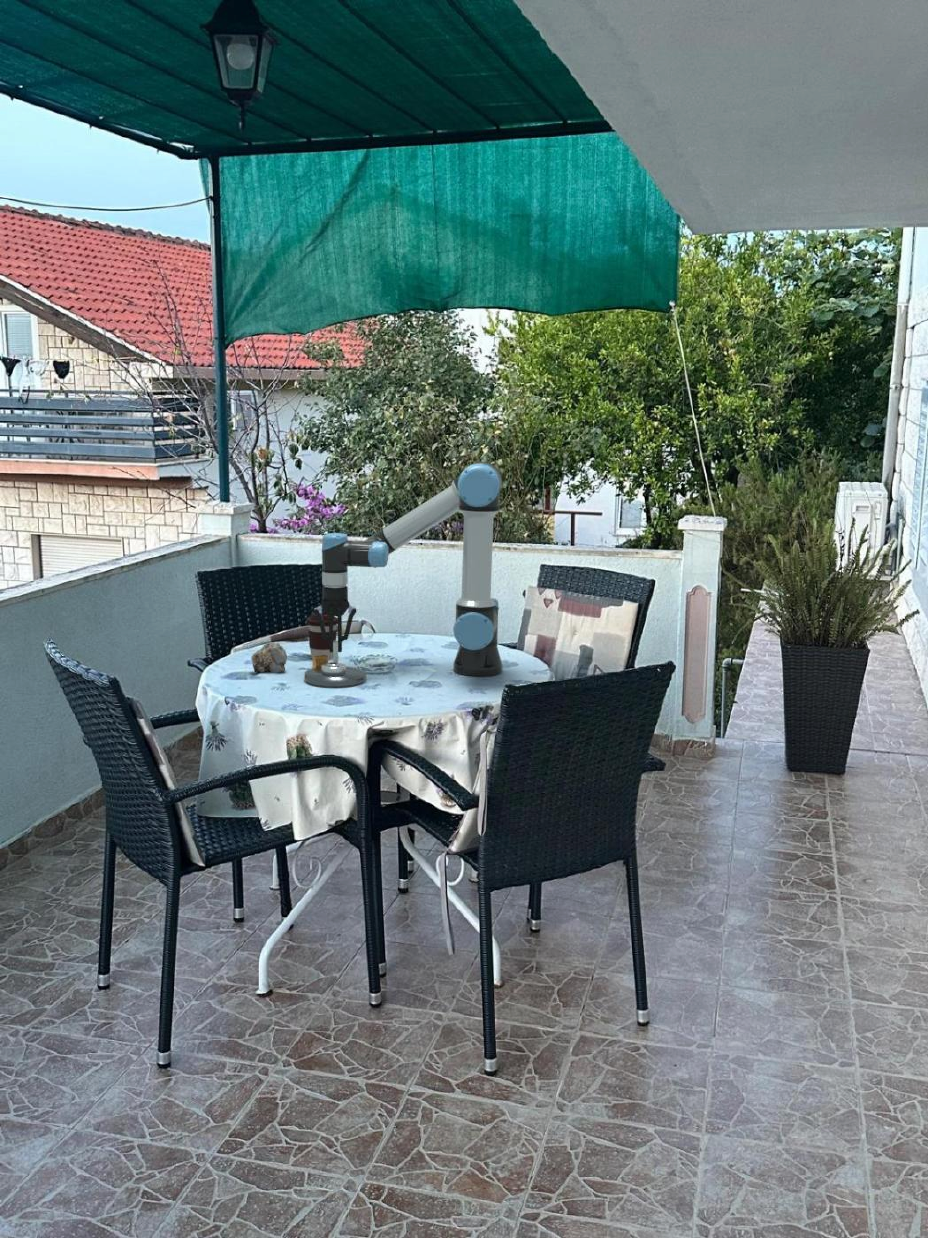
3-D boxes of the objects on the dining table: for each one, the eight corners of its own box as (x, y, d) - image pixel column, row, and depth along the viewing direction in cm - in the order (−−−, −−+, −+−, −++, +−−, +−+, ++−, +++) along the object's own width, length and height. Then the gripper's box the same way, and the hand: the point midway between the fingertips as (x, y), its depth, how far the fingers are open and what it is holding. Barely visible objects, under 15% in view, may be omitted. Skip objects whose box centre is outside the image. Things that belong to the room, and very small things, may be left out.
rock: (268, 677, 358) (246, 654, 355) (297, 654, 356) (275, 631, 353) (267, 688, 349) (244, 664, 346) (296, 665, 348) (274, 641, 345)
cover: (338, 669, 346) (338, 659, 345) (349, 675, 340) (349, 664, 340) (317, 672, 342) (317, 662, 342) (328, 677, 336) (328, 667, 336)
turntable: (345, 668, 356) (345, 652, 355) (376, 683, 339) (376, 666, 338) (290, 674, 347) (290, 658, 346) (320, 690, 330) (320, 673, 329)
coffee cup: (332, 664, 364) (332, 617, 361) (302, 662, 366) (302, 615, 363) (342, 657, 374) (342, 611, 371) (312, 655, 375) (312, 609, 372)
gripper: (356, 583, 350) (357, 659, 355) (313, 583, 349) (314, 660, 354) (357, 587, 343) (357, 665, 348) (312, 587, 342) (313, 665, 346)
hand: (335, 662), depth 351 cm, fingers closed
